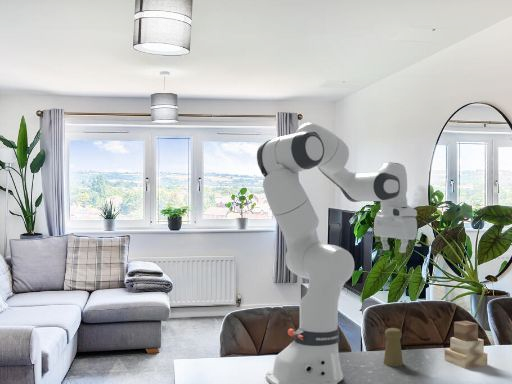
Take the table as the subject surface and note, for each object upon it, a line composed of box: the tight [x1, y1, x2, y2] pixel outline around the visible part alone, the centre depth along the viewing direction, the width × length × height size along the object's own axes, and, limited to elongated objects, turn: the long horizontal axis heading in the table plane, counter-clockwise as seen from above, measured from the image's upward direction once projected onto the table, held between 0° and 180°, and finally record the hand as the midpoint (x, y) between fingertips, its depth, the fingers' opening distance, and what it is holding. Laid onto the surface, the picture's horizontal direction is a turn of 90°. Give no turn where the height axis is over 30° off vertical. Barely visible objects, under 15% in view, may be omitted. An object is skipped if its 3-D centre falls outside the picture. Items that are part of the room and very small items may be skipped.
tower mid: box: [449, 336, 485, 356], centre depth 175 cm, size 7×7×4 cm
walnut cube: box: [453, 320, 479, 341], centre depth 175 cm, size 5×5×5 cm
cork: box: [383, 327, 404, 368], centre depth 174 cm, size 6×6×11 cm
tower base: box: [444, 348, 488, 369], centre depth 175 cm, size 9×9×4 cm
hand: (394, 251), depth 187 cm, fingers open, 8 cm apart
